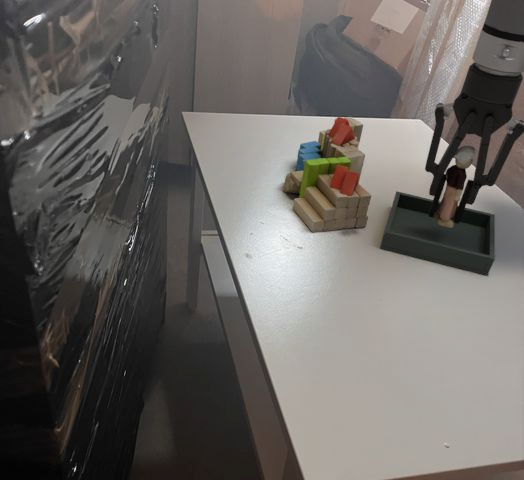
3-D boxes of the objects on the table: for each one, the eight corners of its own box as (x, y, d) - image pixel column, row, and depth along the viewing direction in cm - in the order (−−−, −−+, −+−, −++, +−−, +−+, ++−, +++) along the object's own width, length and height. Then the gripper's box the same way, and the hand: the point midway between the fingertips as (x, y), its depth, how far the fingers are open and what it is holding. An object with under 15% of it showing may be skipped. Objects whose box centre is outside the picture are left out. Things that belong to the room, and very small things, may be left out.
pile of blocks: (285, 142, 123) (292, 88, 116) (353, 151, 124) (365, 97, 116) (281, 228, 97) (290, 165, 89) (367, 239, 97) (384, 177, 90)
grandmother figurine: (462, 231, 95) (491, 156, 87) (441, 231, 94) (468, 156, 86) (442, 207, 101) (468, 135, 92) (422, 207, 100) (446, 135, 91)
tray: (488, 229, 104) (494, 214, 102) (487, 275, 93) (494, 259, 91) (392, 206, 107) (396, 191, 105) (379, 248, 96) (384, 231, 94)
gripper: (436, 62, 80) (392, 214, 96) (560, 88, 78) (494, 239, 93) (440, 49, 85) (397, 195, 101) (556, 72, 83) (494, 218, 99)
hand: (444, 216), depth 97 cm, fingers closed on grandmother figurine, 3 cm apart
